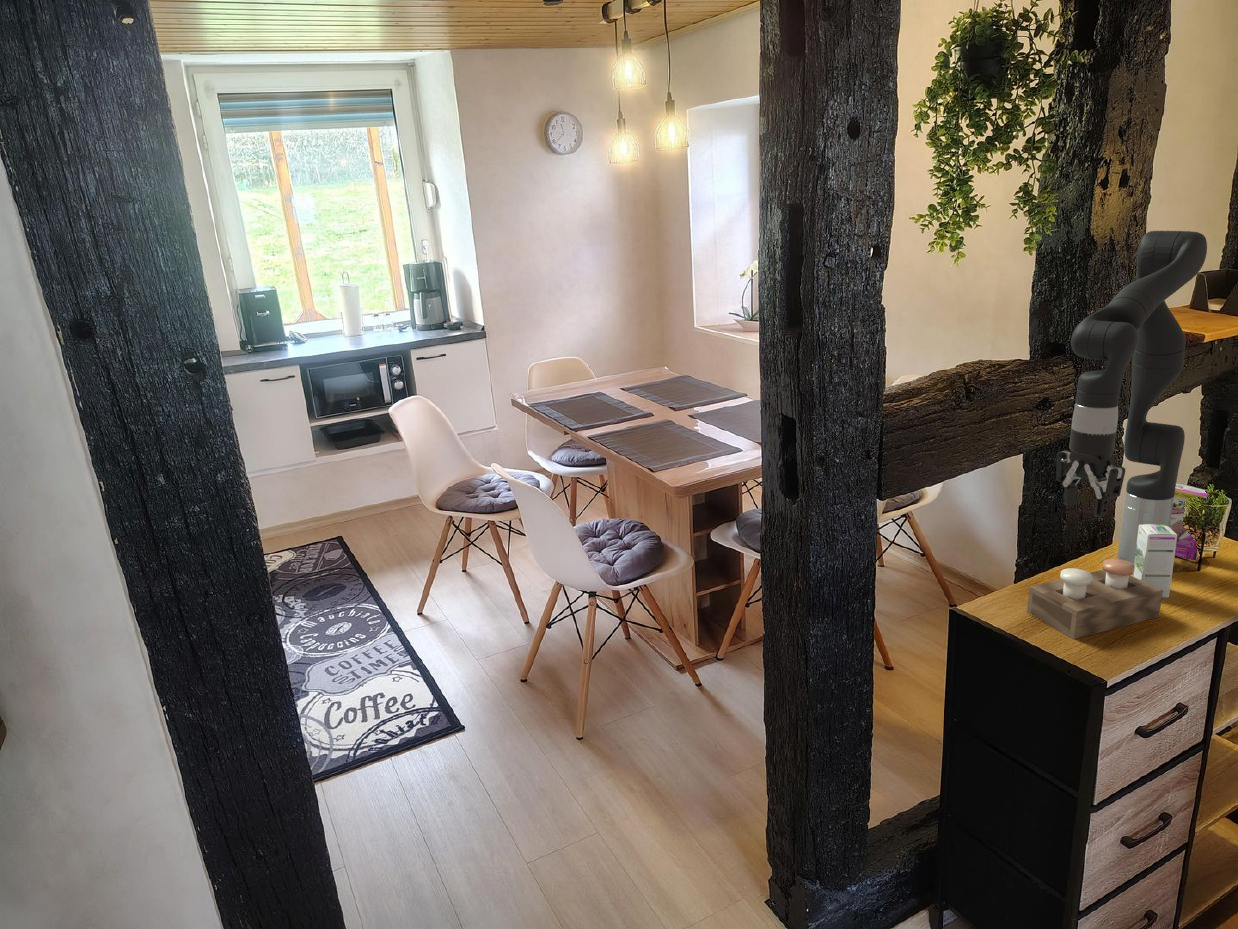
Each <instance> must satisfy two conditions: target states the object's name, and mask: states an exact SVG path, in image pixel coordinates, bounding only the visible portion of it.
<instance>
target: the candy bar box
mask: <svg viewBox="0 0 1238 929" xmlns="http://www.w3.org/2000/svg"><path fill="white" fill-rule="evenodd" d="M1205 490H1206V489H1204V488H1199V487H1195V486H1191V485H1188V484H1187V485H1186V484H1182V483H1178V482H1176V487H1175V494H1174V501H1173V507H1172V515H1171V521H1170V525H1171V526H1172V530H1173V531H1174V532H1175V533H1176V534H1177V541H1176V549H1175V556H1177V557H1176V558H1178V557H1180V558H1179V559H1181V558H1186V559H1191V560H1196V559H1197V557H1198V549H1197V546H1196V540H1193V539H1194V538H1193V537H1192V536H1191V535H1190V534H1189V533H1188V532H1187V531H1186V530H1185V529H1184V528H1183V516H1184V512H1185V508H1184V507H1185V506H1184V503H1185V502H1187V500H1188V499H1189V498H1190V497H1201V498H1205V499H1207V497H1210V496H1211V495H1210V494H1209V495H1208V494H1207V493H1206V492H1205ZM1179 497H1180V501H1179Z"/></svg>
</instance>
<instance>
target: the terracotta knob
mask: <svg viewBox="0 0 1238 929" xmlns="http://www.w3.org/2000/svg"><path fill="white" fill-rule="evenodd" d="M1134 569H1135V565H1134V564H1133V563H1131V562H1128V561H1125V560H1121V559H1117V558H1107V559H1104V560H1103V561H1102V570H1104V571H1106V579H1105V585H1107V586H1109V587H1111V588H1113V589H1116V590H1121V589H1125V588H1127V586H1128V579H1129V575H1131V576H1133V573H1134Z"/></svg>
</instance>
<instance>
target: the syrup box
mask: <svg viewBox="0 0 1238 929" xmlns="http://www.w3.org/2000/svg"><path fill="white" fill-rule="evenodd" d="M1176 541H1177V534H1176V533H1175V532H1174V531H1173V530H1171V529H1170V528H1169V527H1168V526H1167V525H1161V524H1143V525H1139V529H1138V537H1137V544H1136V553H1135V561H1134V565H1135V569H1134V573H1133V574H1132V576H1133V577H1135V578H1137V579H1140V580H1142V581H1144V582H1147V583H1149V584H1151V585H1153V586H1156V587H1158V588H1160V589H1162V590H1163V594H1162V599H1164V598H1167V599H1169V597H1170V591H1171V585H1172V578H1173V570H1174V562H1175V558H1176V557H1175V549H1176Z"/></svg>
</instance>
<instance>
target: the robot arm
mask: <svg viewBox="0 0 1238 929" xmlns="http://www.w3.org/2000/svg"><path fill="white" fill-rule="evenodd" d="M1207 253H1208V242H1207V238H1206V236H1205V235H1204V234H1203V233H1201V232H1198V231H1192V230H1191V231H1189V230H1187V231H1186V230H1150V231H1148V232H1145V234H1144V235H1143V236H1142V237H1141V239H1140V242H1139V245H1138V249H1137V256H1136V280H1134V281H1132V282H1130V283H1129V284H1127V285H1125V286H1124V287H1123V288H1122V289H1120V291H1118V293H1116V295H1115V296H1114V297H1113V298H1112V299H1111V301H1110V302H1109V303H1108V304H1107V305H1106V306H1104V307H1102V308H1100V309H1098V310H1097V311H1095V312H1094V313H1092V314H1090V315H1088V316H1087V317H1085V318H1083V320H1081V322H1079V323H1078V324H1077V325H1076V327H1075V329H1074V330H1073V332H1072V335H1071V339H1070V347H1071V349H1072V351H1073V352H1074V354H1075V355H1076V356H1078V357H1079V358H1083V359H1088V360H1089V359H1091V360H1101V361H1108V363H1107V366H1106V368H1105V369H1102V370H1101V369H1100V370H1091V371H1086V372H1083V373H1081V374H1080V375H1079V377H1078V381H1077V385H1076V386H1077V387H1076V389H1077V390H1076V396H1075V404H1074V408H1073V409H1074V410H1073V413H1072V419H1071V420H1072V421H1071V428H1070V436H1069V438H1070V439H1069V446H1068V449H1069V450H1062V451H1058V452H1057V453H1056V459H1055V460H1056V461H1055V479H1056V480H1055V481H1057V482H1061V483H1062V486H1063V487H1064V490H1063V497H1062V498H1063V504H1064V506H1066V507H1071V506H1075V505H1076V502H1077V496H1078V495H1077V493H1078V486H1077V485H1078V483H1079V482H1080V480H1081V479H1085V480H1086V481H1088V482H1089V483H1090V487H1091V488H1093V490H1094V493H1095V496H1096V498H1095V499H1094V509H1093V517H1097V518H1101V517H1105V515H1107V513H1108V511H1109V510H1108V509H1109V502H1110V499H1113V498H1118V497H1120V496H1121V492H1122V488H1123V483H1124V479H1125V475H1126V468H1125V467H1123V466H1120V467H1117V466H1115V465H1113V463H1112V461H1111V458H1112V454H1113V453H1114V452H1115V448H1116V447H1115V445H1116V439H1117V430H1118V424H1119V422H1118V421H1119V403H1120V402H1119V400H1120V393H1121V387H1122V383H1123V379H1124V376H1125V374H1126V371H1127V370H1128V367H1129V364H1130V362H1131V360H1132V369H1131V371H1132V372H1131V389H1130V403H1129V409H1128V415H1127V421H1126V428H1125V435H1124V441H1123V443H1124V446H1123V452H1124V457H1125V458H1126V460H1128V462H1129V461H1130V462H1132V463H1137V464H1138V463H1139V464H1145V465H1152V466H1159V467H1160V468H1159V470H1157V471H1155V472H1151V473H1146V474H1139V475H1135V476H1131V477H1130V478H1129V479H1128V480H1127V482H1126V489H1125V496H1124V497H1125V498H1124V505H1123V512H1122V520H1121V528H1120V533H1119V534H1120V536H1119V542H1118V550H1117V557H1116V559H1121V560H1125V561H1128V562H1131V563H1133V564H1134V561H1135V553H1136V544H1137V537H1138V529H1139V525H1143V524H1161V525H1167V526H1168V527H1169V528H1170V529H1171V530H1172V526H1171V525H1170V521H1171V515H1172V507H1173V501H1174V494H1175V487H1176V483H1178V482H1177V480H1178V476H1179V475H1178V474H1179V469H1180V463H1181V460H1182V455H1183V451H1184V447H1185V446H1184V445H1185V438H1186V437H1185V435H1186V434H1185V431H1184V429H1183V427H1181V426H1179V425H1175V424H1167V423H1159V422H1149V421H1148V420H1147V416H1148V412H1149V410H1150V409H1151V407H1152V406H1153V405H1154V403H1155V402H1156V401H1157V400H1158V399H1159V397H1160V396H1161V395H1162V394H1163V393H1165V391H1166V390H1167V389H1168V388H1169V387H1170V386H1171V385H1172V384H1173V383H1174V382H1175V381H1176V380H1177V378H1178V377H1179V376H1180V375H1181V373H1182V371H1183V369H1184V363H1185V353H1186V352H1185V351H1186V342H1187V341H1186V336H1185V334H1184V330H1183V328H1182V327H1181V326H1180V323H1179V322H1178V320H1177V319H1176V318H1175V315H1174V314H1173V313H1172V311H1171V310H1170V308H1169V306H1168V304H1167V303H1166V300H1167V299H1169V297H1171V296H1172V295H1173V294H1175V293H1176V292H1177V291H1179V289H1181V288H1183V287H1184V286H1185V285H1187V284H1188V283H1189V282H1190V281H1191V280H1192V279H1194V278H1195V277H1196V276H1197V275H1198V273H1199V272H1200V271H1201V269H1202V267H1203V266H1204V264H1205V261H1206V257H1207ZM1099 480H1101V481H1099Z"/></svg>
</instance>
